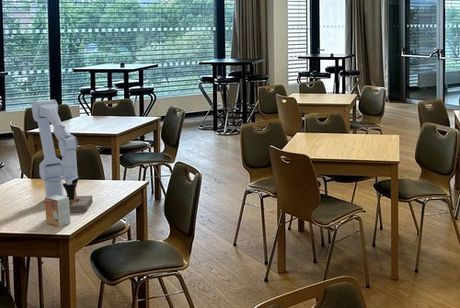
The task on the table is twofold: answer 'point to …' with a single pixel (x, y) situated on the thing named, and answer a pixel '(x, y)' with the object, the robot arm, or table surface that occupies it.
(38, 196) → the table surface
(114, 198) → the table surface
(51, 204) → the small box
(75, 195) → the peg
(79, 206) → the socket block
